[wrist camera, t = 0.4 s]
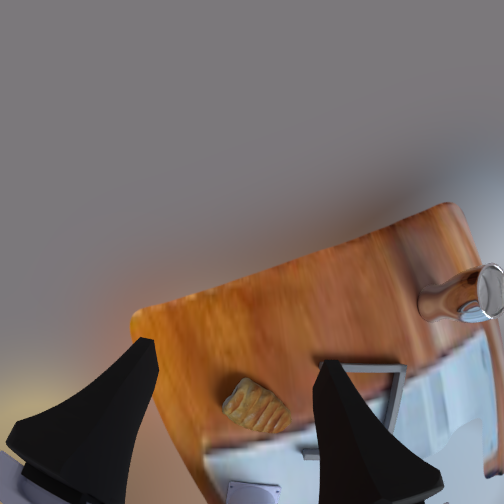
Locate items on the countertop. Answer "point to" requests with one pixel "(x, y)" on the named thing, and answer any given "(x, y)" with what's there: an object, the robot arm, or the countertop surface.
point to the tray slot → (393, 401)
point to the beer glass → (465, 296)
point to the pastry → (256, 408)
